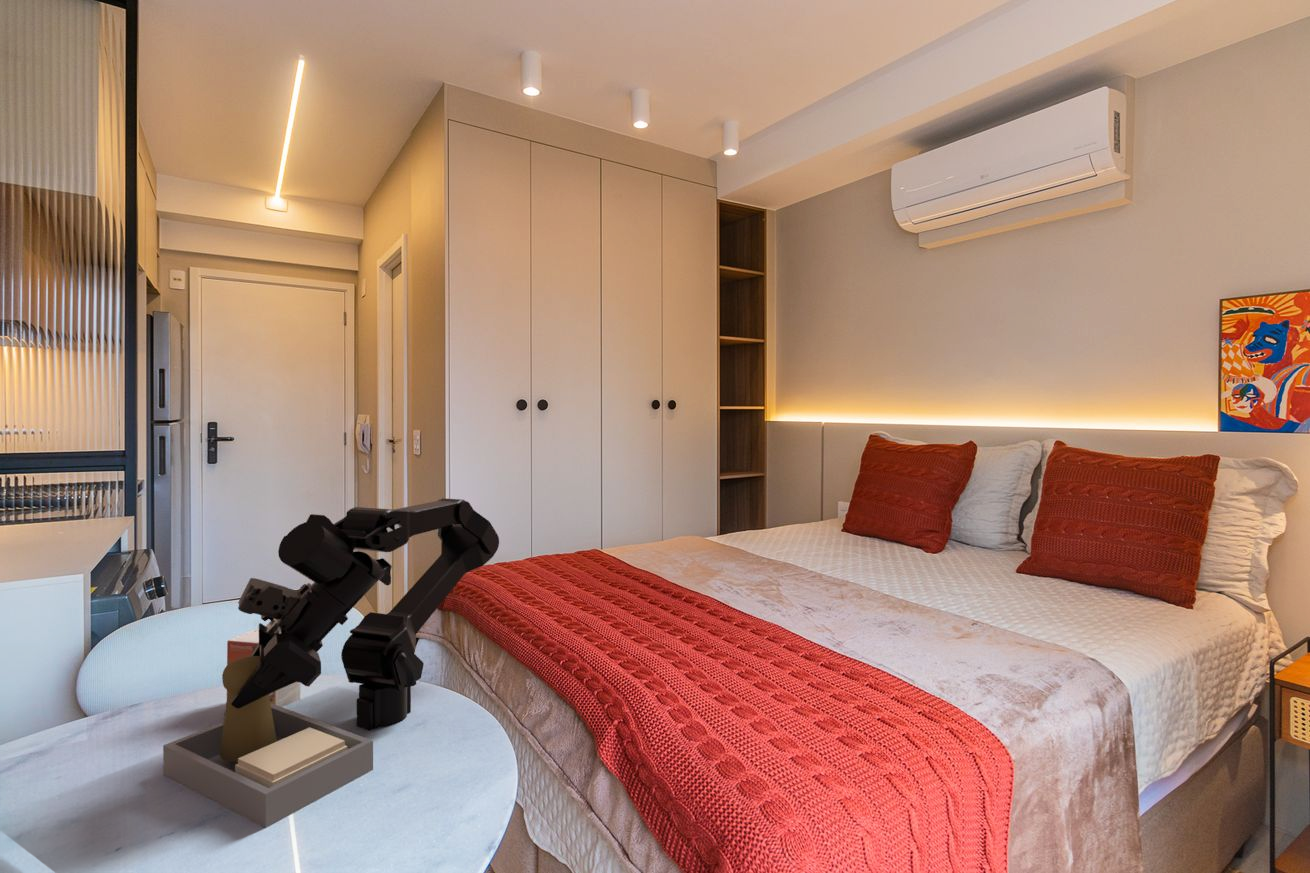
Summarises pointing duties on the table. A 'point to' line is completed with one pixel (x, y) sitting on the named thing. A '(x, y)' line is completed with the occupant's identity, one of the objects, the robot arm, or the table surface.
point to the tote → (216, 779)
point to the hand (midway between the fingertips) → (234, 697)
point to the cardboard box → (289, 757)
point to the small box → (245, 648)
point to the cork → (244, 714)
